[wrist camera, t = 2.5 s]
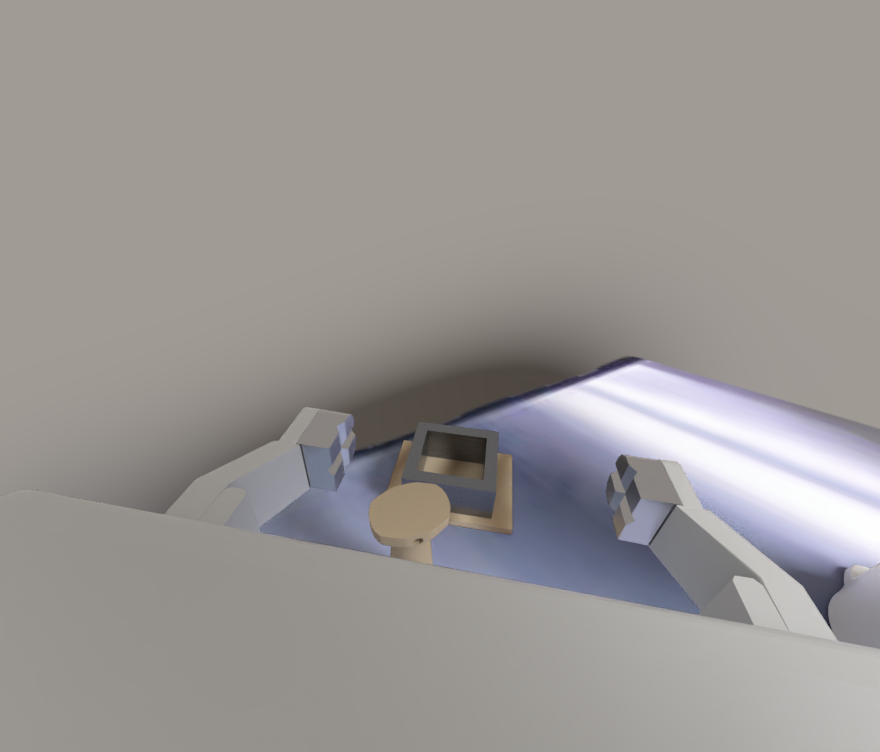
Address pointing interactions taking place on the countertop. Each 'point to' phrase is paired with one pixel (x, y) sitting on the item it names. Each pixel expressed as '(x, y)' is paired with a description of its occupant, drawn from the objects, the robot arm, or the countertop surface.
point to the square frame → (460, 446)
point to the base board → (503, 497)
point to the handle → (410, 519)
